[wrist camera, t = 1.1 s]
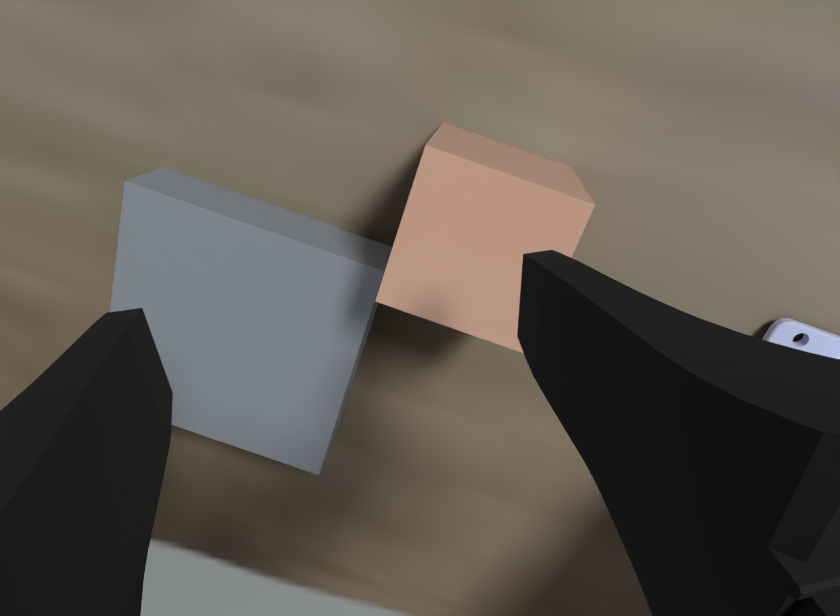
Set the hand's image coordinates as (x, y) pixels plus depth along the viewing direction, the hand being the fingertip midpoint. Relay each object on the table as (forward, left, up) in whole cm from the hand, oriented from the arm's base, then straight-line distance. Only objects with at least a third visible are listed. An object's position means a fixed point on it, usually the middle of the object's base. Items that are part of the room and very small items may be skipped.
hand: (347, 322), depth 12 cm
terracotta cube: (-2, 0, -11) cm, 11 cm away
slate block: (+5, +7, -11) cm, 14 cm away
